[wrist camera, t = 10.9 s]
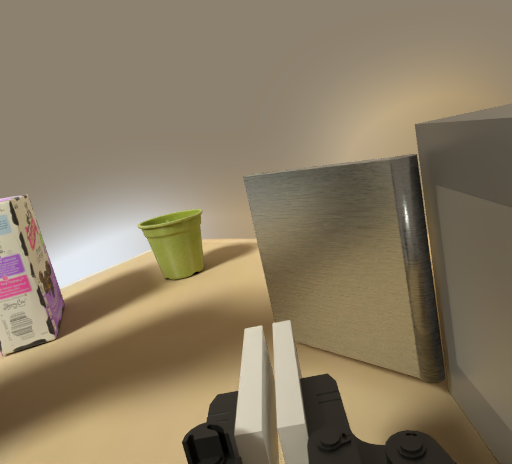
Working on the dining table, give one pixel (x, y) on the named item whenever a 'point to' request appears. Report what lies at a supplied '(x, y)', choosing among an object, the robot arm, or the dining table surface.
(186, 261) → the plant pot
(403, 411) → the dining table surface
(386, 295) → the side door
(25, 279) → the candy box
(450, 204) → the grey inset panel box
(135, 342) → the dining table surface
